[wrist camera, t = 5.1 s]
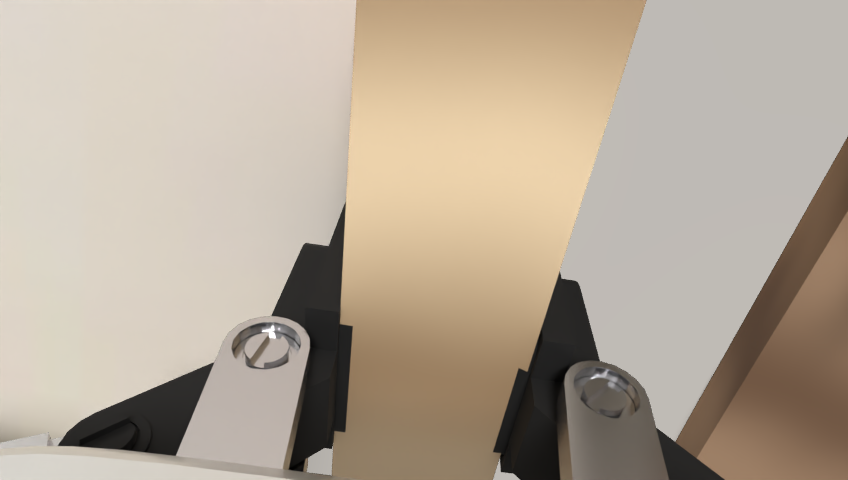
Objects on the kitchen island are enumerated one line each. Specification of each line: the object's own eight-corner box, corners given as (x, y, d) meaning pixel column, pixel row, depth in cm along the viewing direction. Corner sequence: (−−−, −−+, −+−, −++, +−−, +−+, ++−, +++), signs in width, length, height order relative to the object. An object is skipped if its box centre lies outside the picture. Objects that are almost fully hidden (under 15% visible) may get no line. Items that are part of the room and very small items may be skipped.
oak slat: (414, -227, 8) (371, -293, 5) (620, -197, 8) (723, -241, 5) (354, 456, 17) (324, 600, 14) (453, 470, 17) (448, 617, 14)
